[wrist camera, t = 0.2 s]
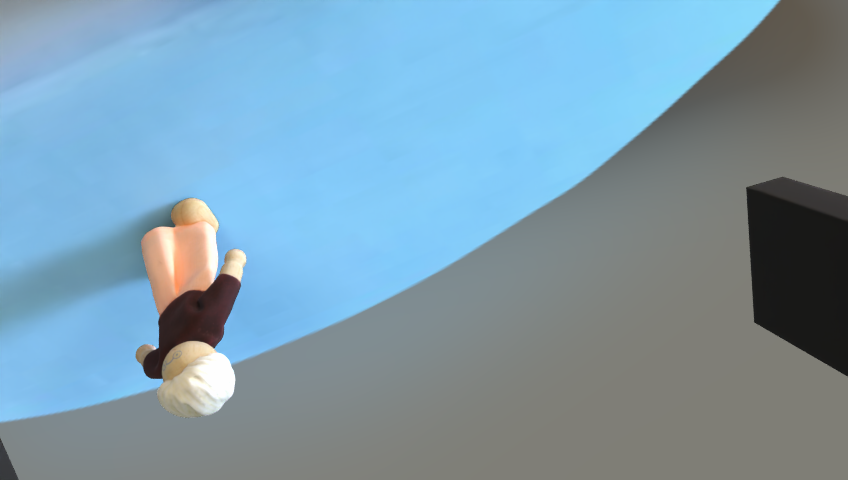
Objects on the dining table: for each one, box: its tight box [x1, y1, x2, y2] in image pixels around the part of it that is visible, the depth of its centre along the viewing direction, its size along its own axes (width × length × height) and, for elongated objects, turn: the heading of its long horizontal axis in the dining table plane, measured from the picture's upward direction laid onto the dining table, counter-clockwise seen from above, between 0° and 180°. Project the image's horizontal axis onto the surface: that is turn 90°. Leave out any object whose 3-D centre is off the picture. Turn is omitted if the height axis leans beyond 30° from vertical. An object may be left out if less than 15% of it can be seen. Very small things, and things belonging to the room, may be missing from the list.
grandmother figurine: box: [136, 198, 246, 418], centre depth 38 cm, size 8×4×13 cm, turn 144°
